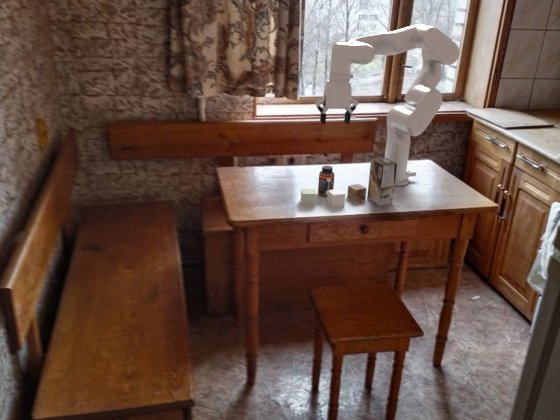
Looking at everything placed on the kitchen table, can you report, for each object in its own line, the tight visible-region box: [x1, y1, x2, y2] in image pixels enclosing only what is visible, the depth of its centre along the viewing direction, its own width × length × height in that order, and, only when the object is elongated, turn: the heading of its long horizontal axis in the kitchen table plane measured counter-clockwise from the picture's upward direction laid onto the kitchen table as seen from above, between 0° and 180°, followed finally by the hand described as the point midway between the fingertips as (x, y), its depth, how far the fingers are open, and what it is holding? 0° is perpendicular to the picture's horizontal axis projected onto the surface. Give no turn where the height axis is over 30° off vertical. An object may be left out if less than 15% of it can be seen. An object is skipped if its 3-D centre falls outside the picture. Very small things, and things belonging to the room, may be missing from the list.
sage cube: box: [300, 188, 317, 207], centre depth 207 cm, size 5×5×5 cm
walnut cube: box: [346, 183, 368, 203], centre depth 213 cm, size 5×5×5 cm
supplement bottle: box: [317, 165, 335, 198], centre depth 215 cm, size 6×6×11 cm
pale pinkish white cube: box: [326, 188, 346, 208], centre depth 207 cm, size 5×5×5 cm
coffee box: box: [366, 156, 397, 207], centre depth 210 cm, size 9×6×16 cm
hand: (334, 123), depth 210 cm, fingers open, 9 cm apart
